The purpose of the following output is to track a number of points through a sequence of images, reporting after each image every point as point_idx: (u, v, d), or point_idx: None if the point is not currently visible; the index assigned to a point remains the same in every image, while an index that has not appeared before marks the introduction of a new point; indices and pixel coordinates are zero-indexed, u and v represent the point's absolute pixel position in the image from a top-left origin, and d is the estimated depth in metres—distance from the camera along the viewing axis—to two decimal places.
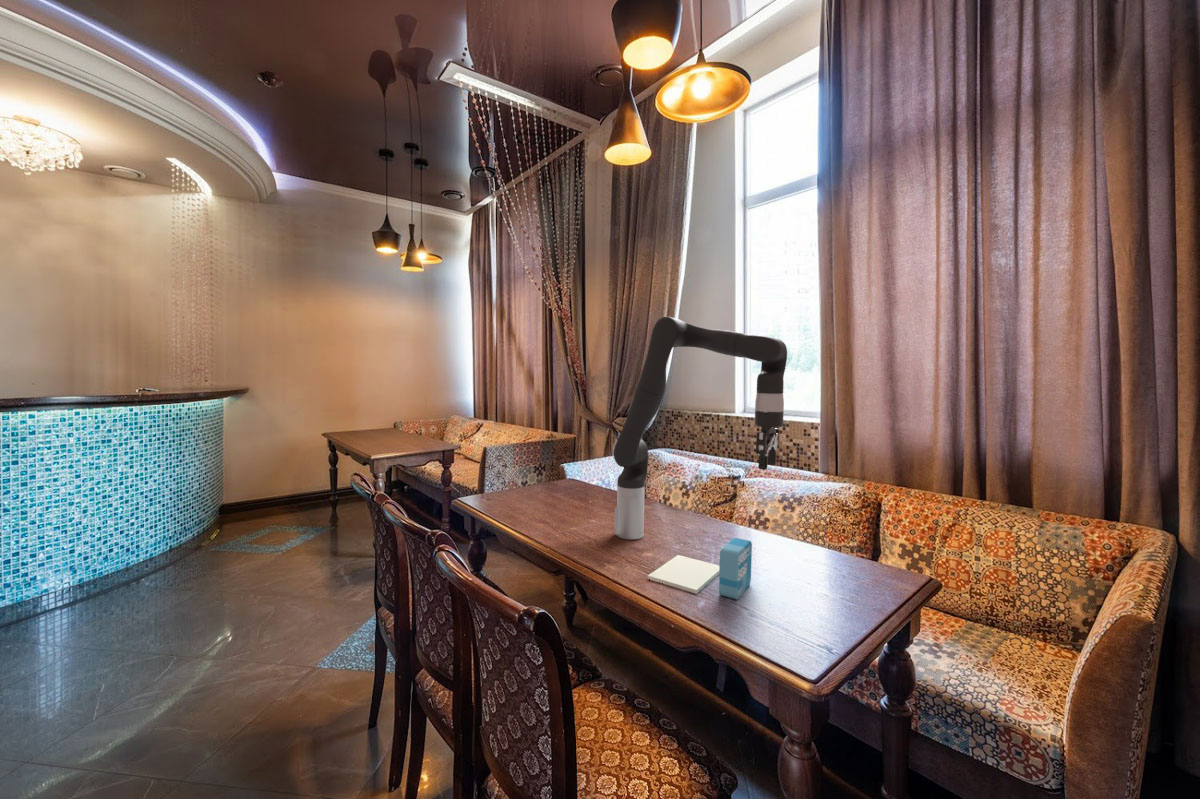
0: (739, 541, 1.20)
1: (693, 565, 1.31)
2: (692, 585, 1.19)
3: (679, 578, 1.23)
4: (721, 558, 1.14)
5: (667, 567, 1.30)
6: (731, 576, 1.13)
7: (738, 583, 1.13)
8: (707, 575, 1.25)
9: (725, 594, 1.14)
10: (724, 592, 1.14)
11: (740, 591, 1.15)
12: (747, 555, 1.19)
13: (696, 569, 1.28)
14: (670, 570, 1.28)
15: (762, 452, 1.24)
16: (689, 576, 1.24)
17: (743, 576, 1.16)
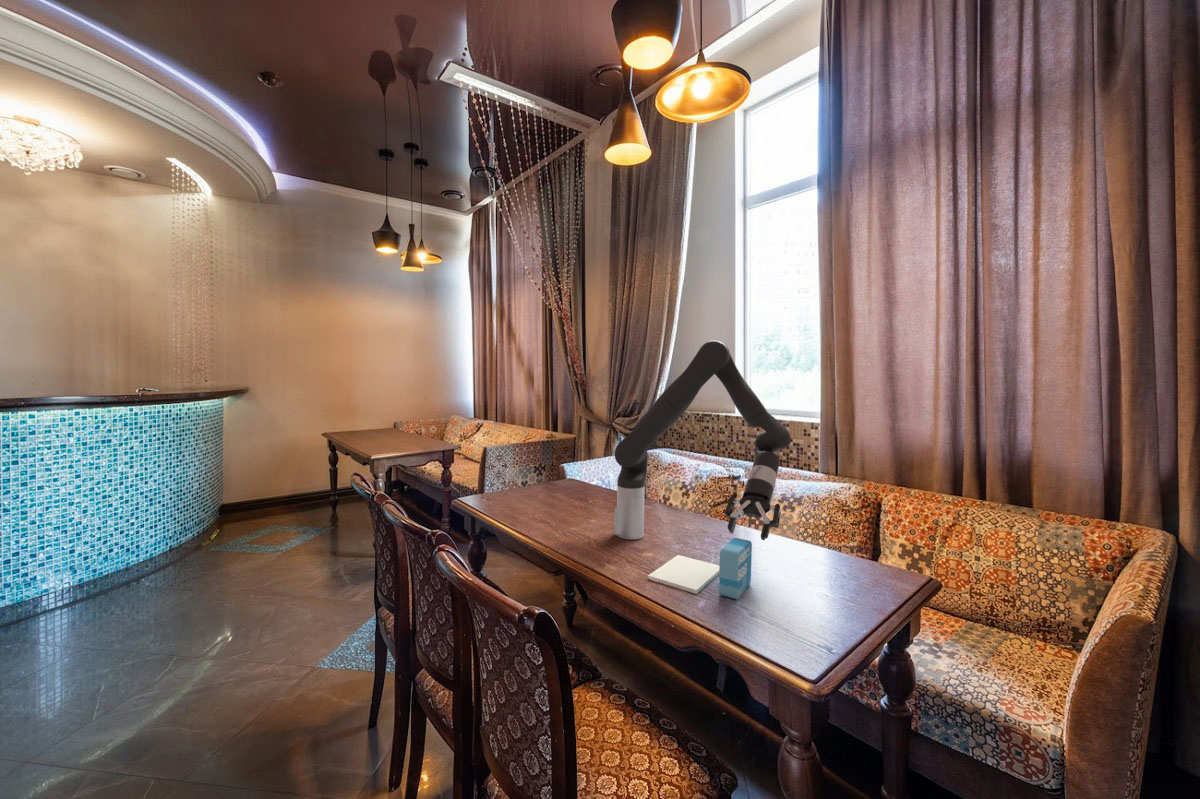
0: (739, 541, 1.20)
1: (693, 565, 1.31)
2: (692, 585, 1.19)
3: (679, 578, 1.23)
4: (721, 558, 1.14)
5: (667, 567, 1.30)
6: (731, 576, 1.13)
7: (738, 583, 1.13)
8: (707, 575, 1.25)
9: (725, 594, 1.14)
10: (724, 592, 1.14)
11: (740, 591, 1.15)
12: (747, 555, 1.19)
13: (696, 569, 1.28)
14: (670, 570, 1.28)
15: (778, 524, 1.23)
16: (689, 576, 1.24)
17: (743, 576, 1.16)
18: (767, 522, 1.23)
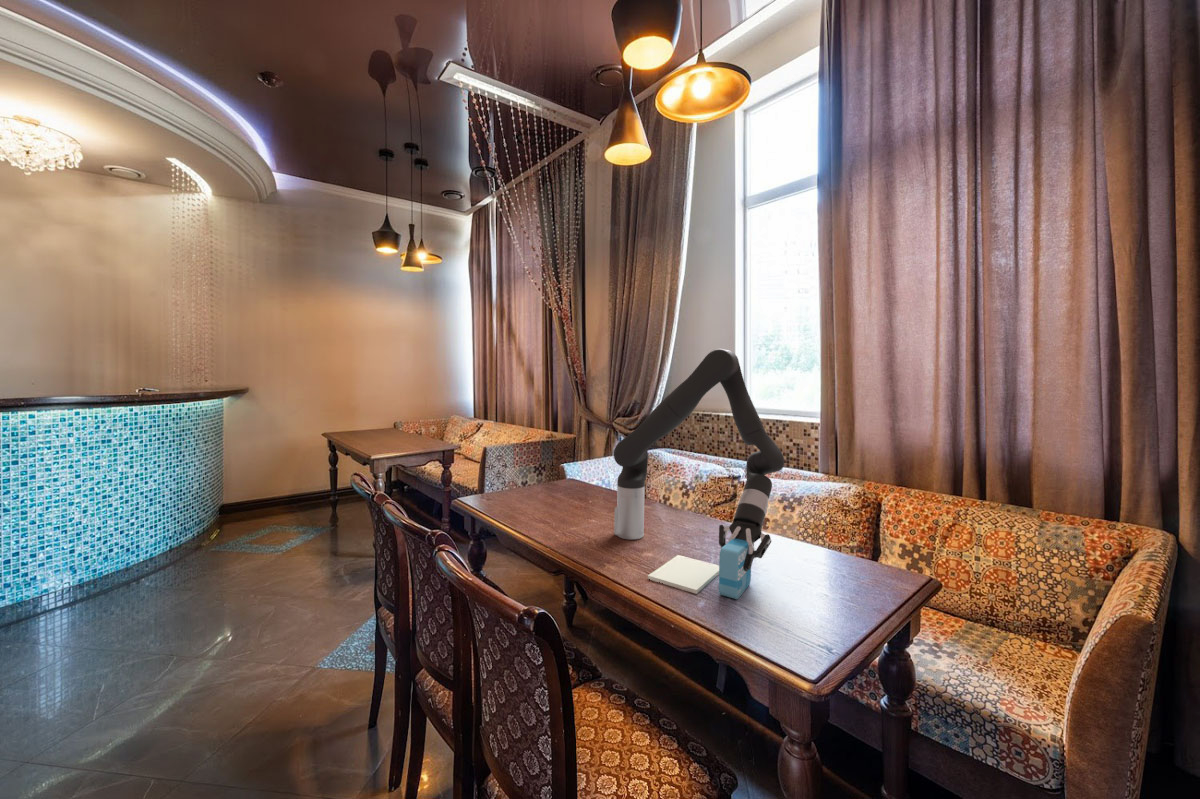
0: (739, 541, 1.20)
1: (693, 565, 1.31)
2: (692, 585, 1.19)
3: (679, 578, 1.23)
4: (721, 558, 1.14)
5: (667, 567, 1.30)
6: (731, 576, 1.13)
7: (738, 583, 1.13)
8: (707, 575, 1.25)
9: (724, 594, 1.14)
10: (724, 592, 1.14)
11: (740, 591, 1.15)
12: None
13: (696, 569, 1.28)
14: (670, 570, 1.28)
15: (761, 555, 1.18)
16: (689, 576, 1.24)
17: (743, 576, 1.16)
18: (750, 552, 1.18)
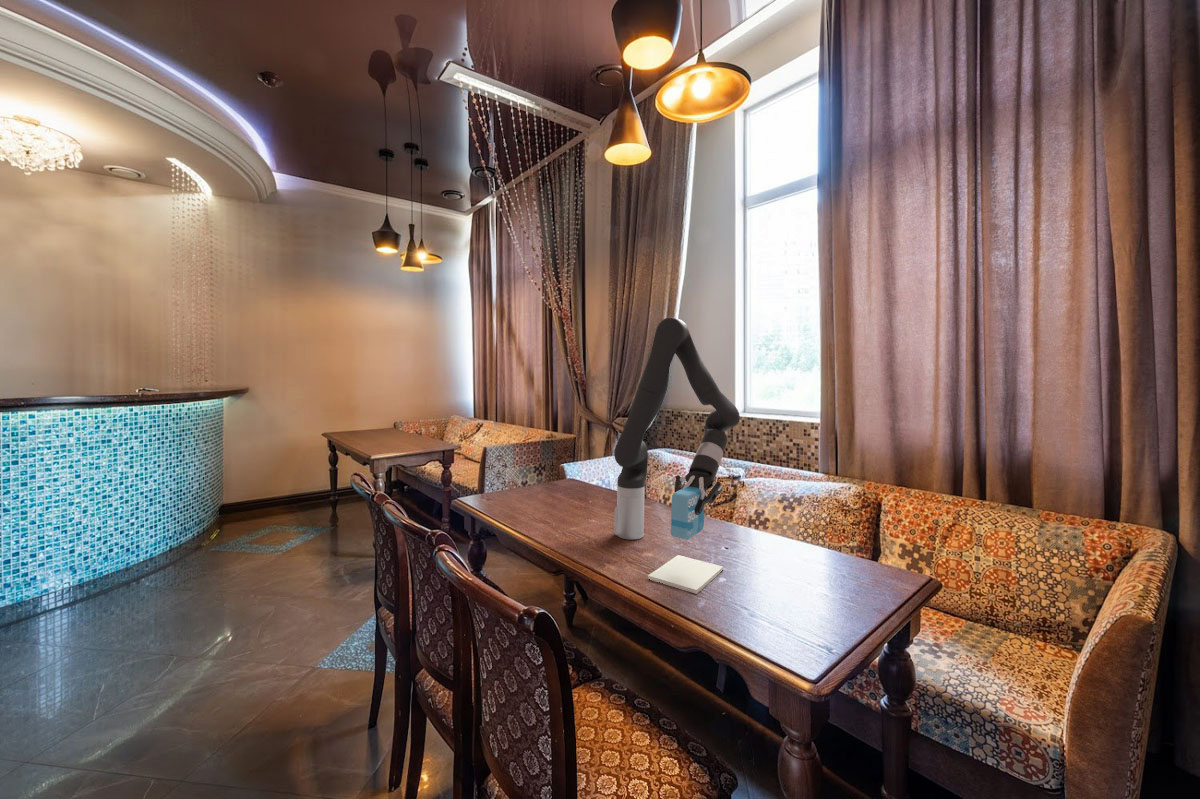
0: (692, 488, 1.28)
1: (693, 565, 1.31)
2: (692, 585, 1.19)
3: (679, 578, 1.23)
4: (673, 501, 1.22)
5: (667, 567, 1.30)
6: (681, 518, 1.21)
7: (688, 524, 1.22)
8: (707, 575, 1.25)
9: (676, 535, 1.22)
10: (676, 533, 1.22)
11: (690, 532, 1.23)
12: None
13: (696, 569, 1.28)
14: (670, 570, 1.28)
15: (712, 500, 1.26)
16: (689, 576, 1.24)
17: (694, 519, 1.25)
18: (701, 498, 1.26)
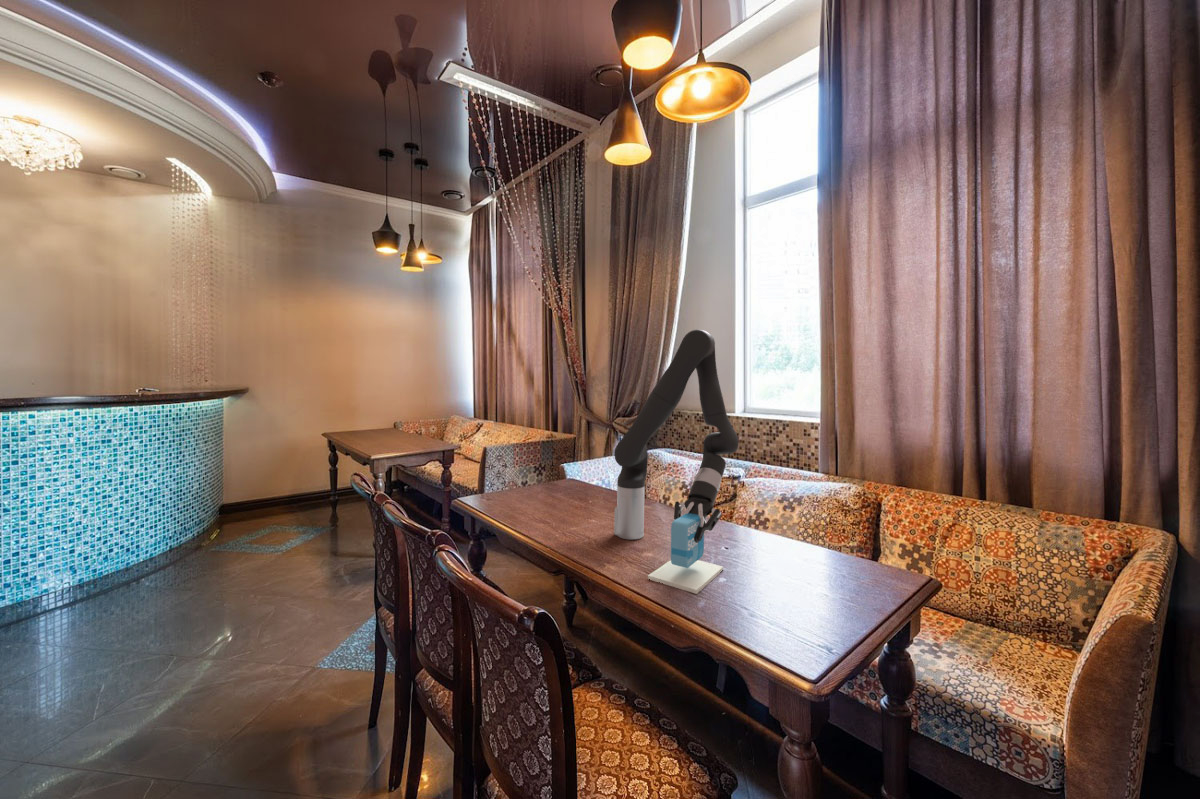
0: (691, 515, 1.29)
1: (693, 565, 1.31)
2: (692, 585, 1.19)
3: (679, 578, 1.23)
4: (672, 530, 1.23)
5: (667, 567, 1.30)
6: (681, 546, 1.22)
7: (688, 553, 1.22)
8: (707, 575, 1.25)
9: (676, 563, 1.23)
10: (676, 562, 1.23)
11: (690, 560, 1.24)
12: None
13: (696, 569, 1.28)
14: (670, 570, 1.28)
15: (711, 527, 1.27)
16: (689, 576, 1.24)
17: (694, 547, 1.25)
18: (701, 525, 1.26)
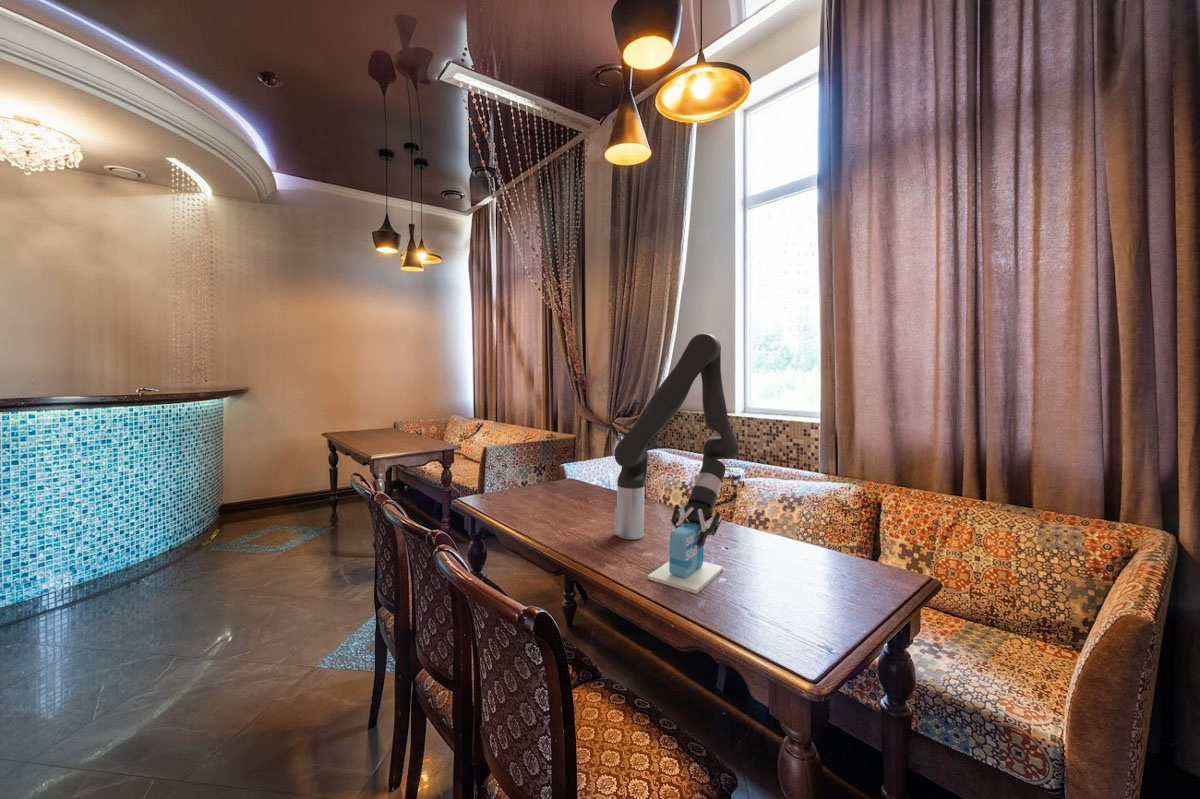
0: (691, 525, 1.29)
1: None
2: (692, 585, 1.19)
3: (679, 578, 1.23)
4: (671, 539, 1.24)
5: (667, 567, 1.30)
6: (680, 556, 1.22)
7: (686, 563, 1.22)
8: (707, 575, 1.25)
9: (674, 573, 1.23)
10: (674, 571, 1.23)
11: (689, 570, 1.24)
12: None
13: None
14: None
15: (714, 532, 1.26)
16: (689, 576, 1.24)
17: (693, 557, 1.26)
18: (704, 530, 1.26)
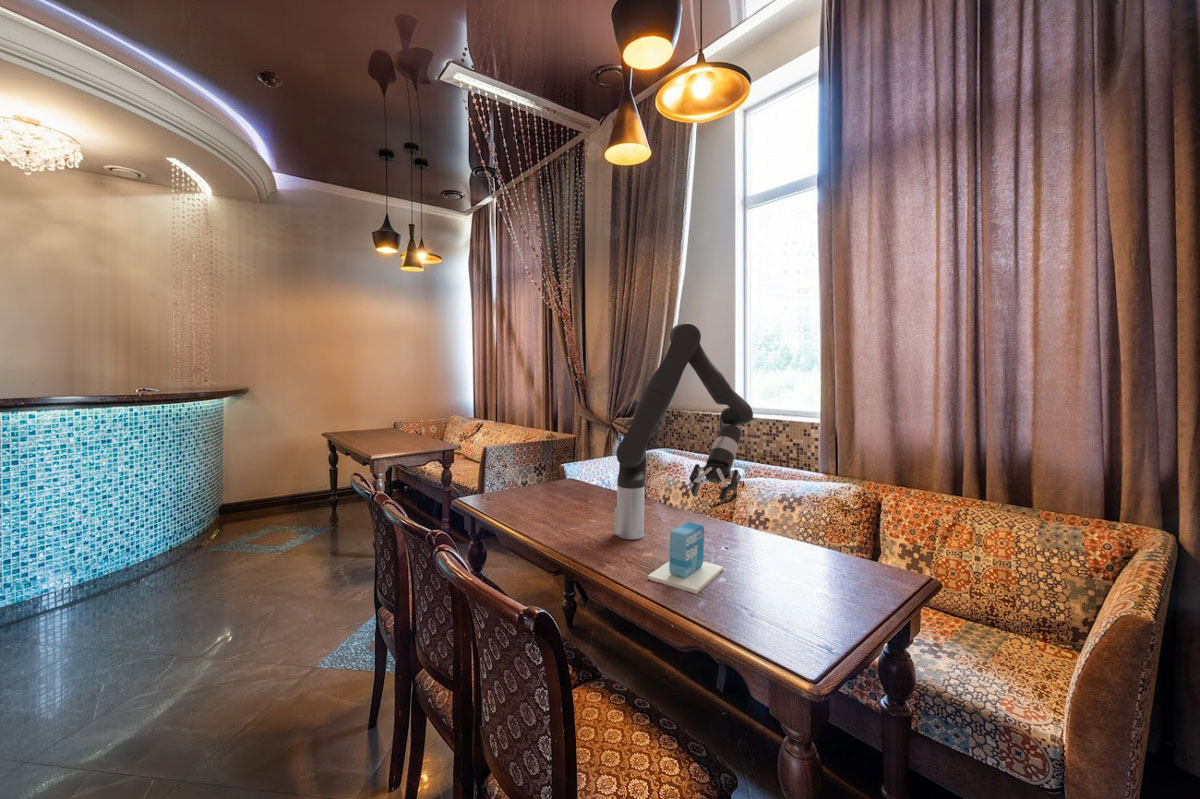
0: (691, 525, 1.29)
1: None
2: (692, 585, 1.19)
3: (679, 578, 1.23)
4: (671, 540, 1.24)
5: (667, 567, 1.30)
6: (680, 556, 1.22)
7: (686, 563, 1.22)
8: (707, 575, 1.25)
9: (674, 573, 1.23)
10: (674, 571, 1.23)
11: (689, 570, 1.24)
12: (698, 538, 1.28)
13: None
14: None
15: (735, 488, 1.36)
16: (689, 576, 1.24)
17: (693, 557, 1.26)
18: (725, 485, 1.36)
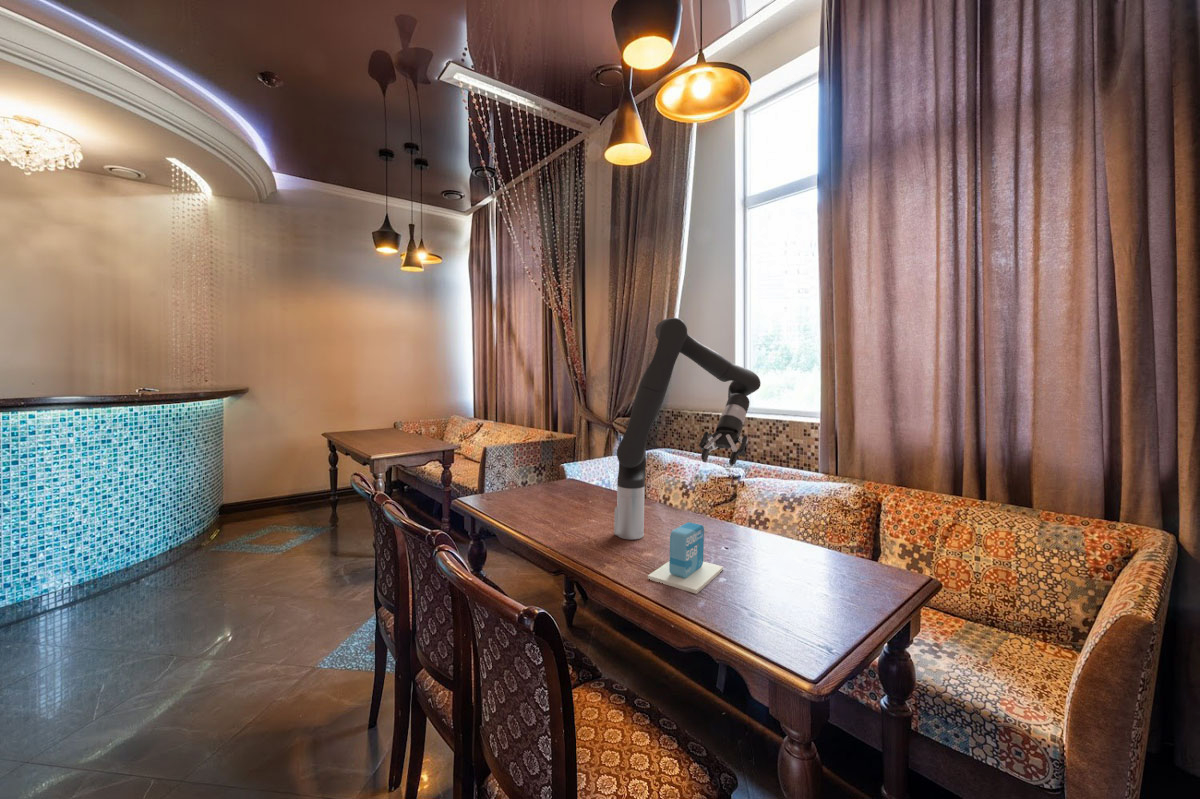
0: (691, 525, 1.29)
1: None
2: (692, 585, 1.19)
3: (679, 578, 1.23)
4: (671, 539, 1.24)
5: (667, 567, 1.30)
6: (680, 556, 1.22)
7: (686, 563, 1.22)
8: (707, 575, 1.25)
9: (674, 573, 1.23)
10: (674, 571, 1.23)
11: (689, 570, 1.24)
12: (698, 538, 1.28)
13: None
14: None
15: (744, 452, 1.39)
16: (689, 576, 1.24)
17: (693, 557, 1.26)
18: (735, 450, 1.38)
